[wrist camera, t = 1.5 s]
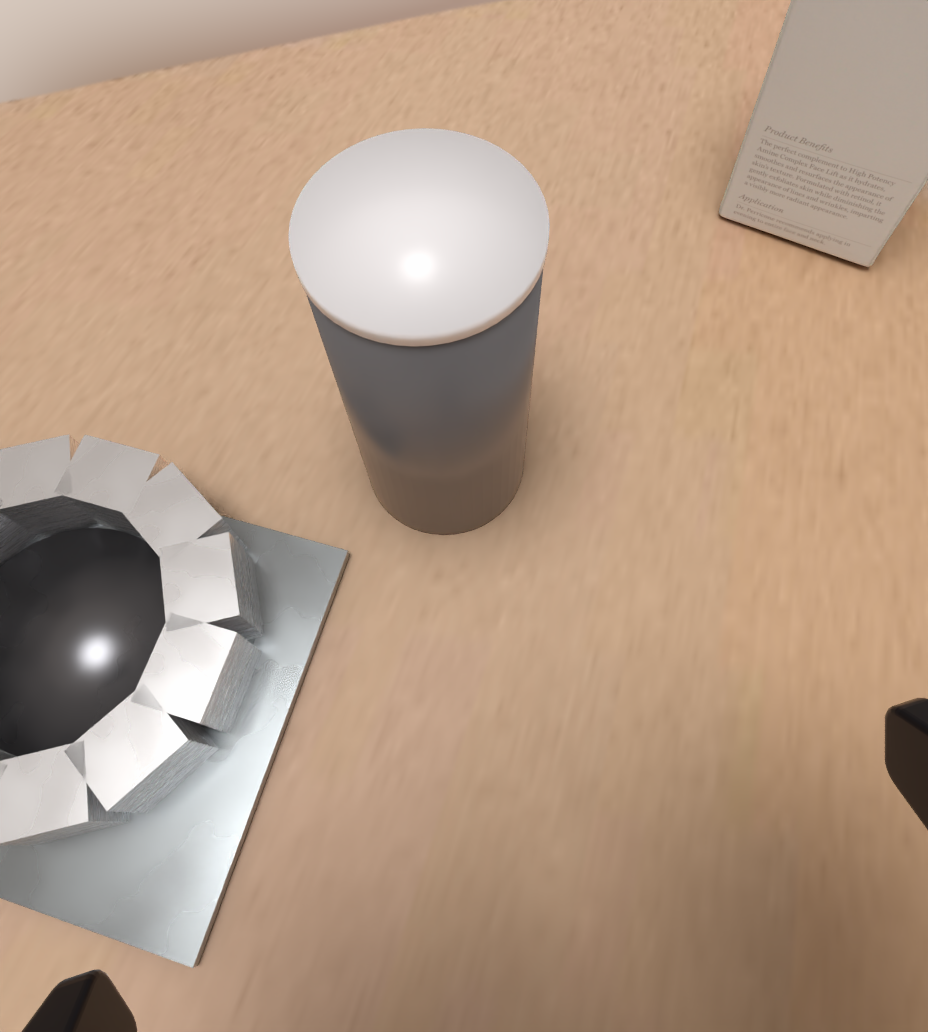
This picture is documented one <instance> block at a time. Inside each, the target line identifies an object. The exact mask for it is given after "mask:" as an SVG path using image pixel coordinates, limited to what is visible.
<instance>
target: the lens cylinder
mask: <svg viewBox="0 0 928 1032" xmlns="http://www.w3.org/2000/svg"><path fill="white" fill-rule="evenodd" d="M549 226H550V224H549V215H548V209H547V205H546V202H545V198H544V196H543V194H542V192H541V190H540V187H539V186H538V184H537V182H536V181H535V179H534V178H533V176H532V175H531V174H530V173H529V172H528V170H527V169H526V168H525V167H524V166H523V165H522V164H521V163H520V162H519V161H518V160H516V159H515V158H514V157H513V156H512V155H510V154H509V153H507V152H506V151H504V150H503V149H501V148H500V147H498V146H496V145H494V144H492V143H490V142H488V141H486V140H483V139H480V138H478V137H475V136H472V135H469V134H465V133H461V132H457V131H450V130H443V129H426V128H423V129H407V130H400V131H394V132H389V133H385V134H381V135H377V136H375V137H372V138H369V139H366V140H364V141H361V142H359V143H357V144H355V145H353V146H351V147H349V148H347V149H345V150H344V151H342V152H341V153H339V154H337V155H336V156H334V157H333V158H332V159H330V160H329V161H328V162H327V163H325V164H324V165H323V166H322V167H321V168H320V169H319V170H318V171H317V172H316V173H315V174H314V175H313V176H312V177H311V179H310V180H309V181H308V183H307V184H306V185H305V187H304V188H303V190H302V192H301V193H300V195H299V197H298V199H297V201H296V204H295V206H294V209H293V211H292V216H291V220H290V224H289V246H290V253H291V257H292V260H293V264H294V267H295V270H296V273H297V275H298V278H299V280H300V283H301V285H302V287H303V289H304V291H305V292H306V294H307V297H308V300H309V303H310V306H311V309H312V312H313V315H314V318H315V321H316V324H317V327H318V329H319V332H320V335H321V338H322V341H323V344H324V347H325V350H326V353H327V356H328V359H329V362H330V365H331V368H332V371H333V373H334V376H335V379H336V382H337V385H338V388H339V391H340V394H341V397H342V400H343V403H344V406H345V409H346V412H347V415H348V417H349V420H350V423H351V426H352V429H353V432H354V435H355V438H356V441H357V444H358V447H359V450H360V453H361V456H362V459H363V461H364V464H365V467H366V470H367V473H368V476H369V479H370V482H371V485H372V488H373V490H374V492H375V495H376V497H377V498H378V500H379V502H380V503H381V505H382V506H383V507H384V508H385V509H386V510H387V512H388V513H389V514H391V515H392V516H393V517H394V518H395V519H397V520H398V521H400V522H401V523H403V524H404V525H406V526H408V527H411V528H413V529H415V530H418V531H421V532H426V533H430V534H440V535H448V534H458V533H464V532H467V531H470V530H474V529H476V528H478V527H481V526H483V525H485V524H486V523H488V522H490V521H491V520H493V519H494V518H495V517H497V516H498V515H499V514H500V513H501V512H502V511H503V510H504V509H505V508H506V507H507V506H508V505H509V503H510V502H511V501H512V499H513V498H514V496H515V494H516V492H517V490H518V488H519V485H520V482H521V478H522V474H523V465H524V455H525V445H526V435H527V425H528V415H529V405H530V395H531V385H532V375H533V365H534V355H535V345H536V335H537V325H538V315H539V305H540V295H541V285H542V275H543V267H544V264H545V260H546V255H547V250H548V240H549Z"/></svg>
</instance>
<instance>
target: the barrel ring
mask: <svg viewBox="0 0 928 1032" xmlns="http://www.w3.org/2000/svg"><path fill="white" fill-rule="evenodd" d="M349 556H350V554H349V552H348V551H347V550H343V549H340V548H336V547H333V546H329V545H325V544H322V543H318V542H314V541H311V540H307V539H304V538H300V537H296V536H293V535H289V534H286V533H282V532H278V531H275V530H271V529H268V528H264V527H260V526H257V525H253V524H249V523H246V522H242V521H239V520H235V519H231V518H228V517H224V516H221V515H219V514H218V513H217V512H216V511H215V510H214V508H213V507H212V506H211V505H210V504H209V503H208V502H207V501H206V499H205V498H204V497H203V496H202V495H201V494H200V493H199V492H198V491H197V489H196V488H195V487H194V486H193V485H192V484H191V483H190V482H189V480H188V479H187V478H186V477H185V476H184V475H183V474H182V473H181V472H180V470H179V469H178V468H177V467H176V466H175V465H174V464H173V463H170V464H169V465H168V464H167V462H166V461H165V460H164V459H163V458H162V457H161V456H160V455H159V454H155V453H152V452H148V451H144V450H140V449H137V448H133V447H129V446H126V445H122V444H118V443H114V442H111V441H107V440H103V439H99V438H96V437H92V436H88V435H84V437H83V439H82V441H81V443H80V444H79V443H78V442H77V441H76V440H75V439H74V438H72V437H71V436H70V435H64V436H59V437H55V438H50V439H46V440H41V441H37V442H32V443H28V444H23V445H18V446H14V447H9V448H5V449H0V898H2V899H5V900H7V901H10V902H13V903H16V904H18V905H21V906H24V907H27V908H29V909H32V910H35V911H38V912H40V913H43V914H46V915H49V916H51V917H54V918H57V919H60V920H62V921H65V922H68V923H71V924H73V925H76V926H79V927H82V928H84V929H87V930H90V931H93V932H95V933H98V934H101V935H104V936H106V937H109V938H112V939H115V940H117V941H120V942H123V943H126V944H128V945H131V946H134V947H137V948H139V949H142V950H145V951H148V952H150V953H153V954H156V955H159V956H161V957H164V958H167V959H170V960H172V961H175V962H178V963H181V964H183V965H186V966H189V967H192V968H193V967H195V966H198V964H199V961H200V959H201V956H202V953H203V951H204V948H205V945H206V942H207V940H208V937H209V934H210V932H211V929H212V926H213V923H214V921H215V918H216V915H217V913H218V910H219V907H220V905H221V902H222V899H223V896H224V894H225V891H226V888H227V886H228V883H229V880H230V878H231V875H232V872H233V869H234V867H235V864H236V861H237V859H238V856H239V853H240V850H241V848H242V845H243V842H244V840H245V837H246V834H247V832H248V829H249V826H250V823H251V821H252V818H253V815H254V813H255V810H256V807H257V805H258V802H259V799H260V796H261V794H262V791H263V788H264V786H265V783H266V780H267V777H268V775H269V772H270V769H271V767H272V764H273V761H274V759H275V756H276V753H277V750H278V748H279V745H280V742H281V740H282V737H283V734H284V732H285V729H286V726H287V723H288V721H289V718H290V715H291V713H292V710H293V707H294V704H295V702H296V699H297V696H298V694H299V691H300V688H301V686H302V683H303V680H304V677H305V675H306V672H307V669H308V667H309V664H310V661H311V659H312V656H313V653H314V650H315V648H316V645H317V642H318V640H319V637H320V634H321V631H322V629H323V626H324V623H325V621H326V618H327V615H328V613H329V610H330V607H331V604H332V602H333V599H334V596H335V594H336V591H337V588H338V586H339V583H340V580H341V577H342V575H343V572H344V569H345V567H346V564H347V561H348V558H349Z"/></svg>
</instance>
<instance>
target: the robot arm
mask: <svg viewBox="0 0 928 1032" xmlns="http://www.w3.org/2000/svg"><path fill="white" fill-rule="evenodd" d="M885 764H886V768H887V771H888V773H889V775H890V777H891V779H892V781H893V782H894V784H895V785H896V787H897V788H898V790H899V791H900V792H901V794H902V795H903V796H904V798H905V799H906V801H907V802H908V803H909V805H910V806H911V808H912V809H913V810H914V812H915V813H916V814H917V816H918V817H919V819H920V820H921V821H922V823H923V824H924V825H925V827H926V828H927V830H928V699H926V698H916V699H913V700H910V701H907V702H904V703H901V704H898V705H895V706H892V707H890V708H889V709H888V711H887V713H886V715H885ZM22 1032H137V1027H136V1022H135V1019H134V1016H133V1014H132V1012H131V1011H130V1009H129V1008H128V1006H127V1004H126V1003H125V1001H124V1000H123V998H122V997H121V995H120V994H119V992H118V991H117V989H116V987H115V986H114V984H113V983H112V981H111V980H110V978H109V977H108V975H107V974H106V973H105V972H103V971H101V970H92V971H89V972H86V973H83V974H80V975H77V976H74V977H71V978H68V979H65V980H63V981H62V982H60V983H59V984H58V985H57V986H56V987H55V988H54V989H53V990H52V991H51V993H50V994H49V995H48V997H47V998H46V999H45V1001H44V1002H43V1003H42V1005H41V1006H40V1007H39V1009H38V1010H37V1012H36V1013H35V1014H34V1016H33V1017H32V1018H31V1020H30V1021H29V1022H28V1024H27V1025H26V1026H25V1028H24V1029H23V1030H22Z"/></svg>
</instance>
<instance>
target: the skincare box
mask: <svg viewBox="0 0 928 1032" xmlns="http://www.w3.org/2000/svg"><path fill="white" fill-rule="evenodd" d="M927 180H928V0H791V3H790V6H789V9H788V11H787V14H786V17H785V20H784V23H783V26H782V29H781V32H780V35H779V38H778V41H777V44H776V47H775V49H774V52H773V55H772V58H771V61H770V64H769V67H768V70H767V73H766V76H765V78H764V81H763V84H762V87H761V90H760V93H759V96H758V99H757V101H756V104H755V107H754V110H753V113H752V116H751V119H750V122H749V125H748V128H747V131H746V134H745V137H744V140H743V143H742V145H741V148H740V151H739V154H738V157H737V160H736V163H735V166H734V168H733V171H732V174H731V177H730V180H729V183H728V186H727V188H726V191H725V194H724V197H723V200H722V202H721V205H720V209H719V214H720V215H721V216H722V217H724V218H727V219H730V220H733V221H736V222H739V223H742V224H745V225H748V226H750V227H753V228H756V229H759V230H762V231H765V232H768V233H771V234H773V235H776V236H779V237H782V238H785V239H788V240H791V241H793V242H796V243H799V244H802V245H805V246H808V247H811V248H814V249H816V250H819V251H822V252H825V253H828V254H831V255H834V256H837V257H839V258H842V259H845V260H848V261H851V262H854V263H857V264H860V265H863V266H866V267H870V266H871V265H872V264H873V263H874V261H875V259H876V258H877V256H878V255H879V253H880V251H881V250H882V248H883V247H884V245H885V244H886V242H887V241H888V239H889V238H890V236H891V234H892V233H893V231H894V230H895V229H896V227H897V226H898V224H899V223H900V221H901V220H902V218H903V217H904V215H905V214H906V212H907V210H908V209H909V207H910V206H911V204H912V203H913V201H914V200H915V198H916V197H917V195H918V194H919V192H920V191H921V189H922V188H923V186H924V185H925V183H926V182H927Z"/></svg>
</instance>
